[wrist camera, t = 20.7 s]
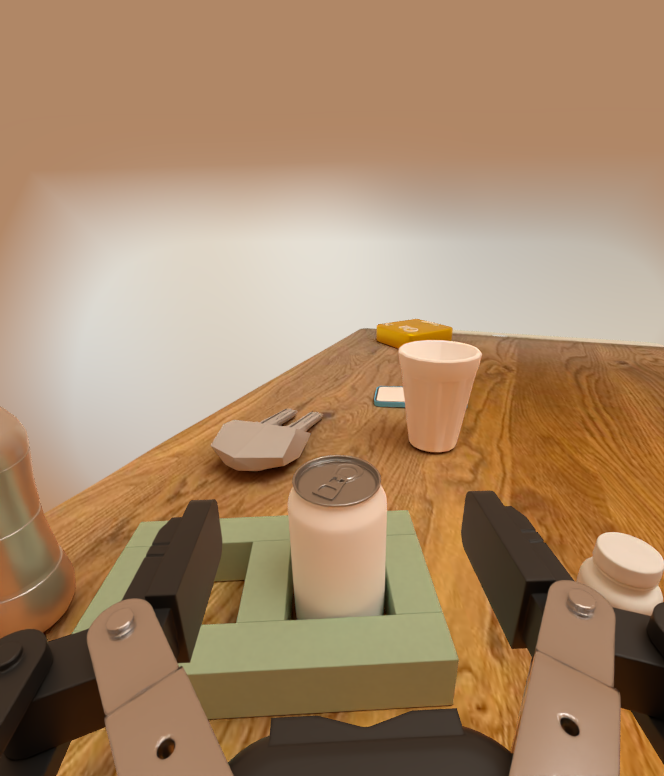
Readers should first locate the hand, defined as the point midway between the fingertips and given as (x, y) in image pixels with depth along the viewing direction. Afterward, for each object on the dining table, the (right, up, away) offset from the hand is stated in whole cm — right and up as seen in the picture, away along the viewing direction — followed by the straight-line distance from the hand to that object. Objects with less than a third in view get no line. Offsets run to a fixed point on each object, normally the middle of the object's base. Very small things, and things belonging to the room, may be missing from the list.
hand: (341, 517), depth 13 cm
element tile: (+21, +16, +91) cm, 95 cm away
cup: (+13, -3, +40) cm, 43 cm away
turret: (-8, -4, +41) cm, 42 cm away
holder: (-5, -13, +17) cm, 22 cm away
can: (0, -13, +17) cm, 21 cm away
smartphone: (+15, +2, +55) cm, 57 cm away
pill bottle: (+18, -13, +14) cm, 27 cm away
